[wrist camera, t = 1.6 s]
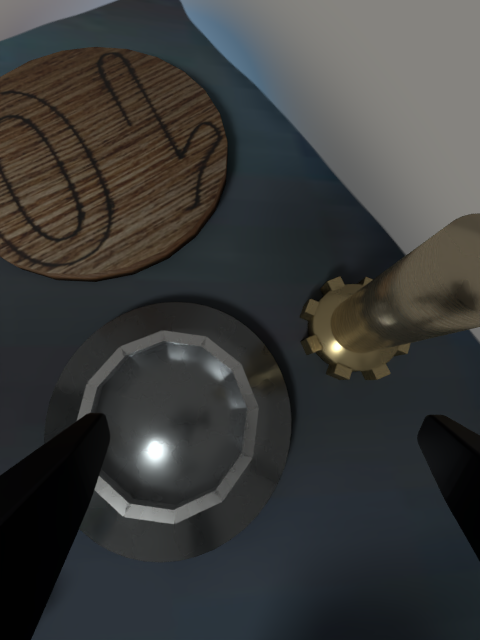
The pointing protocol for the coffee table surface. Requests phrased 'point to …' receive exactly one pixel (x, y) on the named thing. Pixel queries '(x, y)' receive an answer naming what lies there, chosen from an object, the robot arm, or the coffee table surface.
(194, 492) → the carrier plate
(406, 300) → the brass toothed-base goblet
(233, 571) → the coffee table surface
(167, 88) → the trivet
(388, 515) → the coffee table surface
